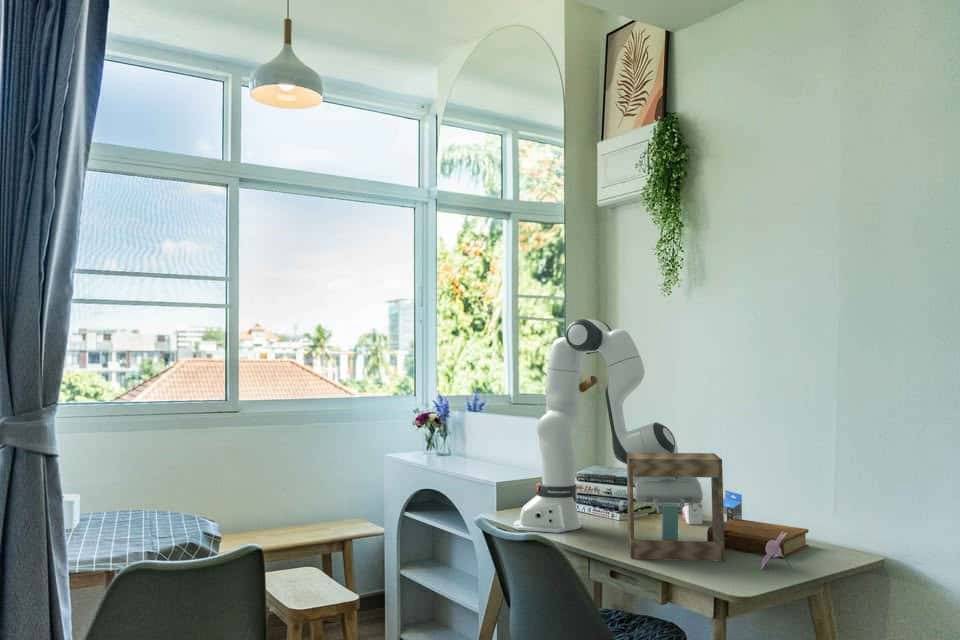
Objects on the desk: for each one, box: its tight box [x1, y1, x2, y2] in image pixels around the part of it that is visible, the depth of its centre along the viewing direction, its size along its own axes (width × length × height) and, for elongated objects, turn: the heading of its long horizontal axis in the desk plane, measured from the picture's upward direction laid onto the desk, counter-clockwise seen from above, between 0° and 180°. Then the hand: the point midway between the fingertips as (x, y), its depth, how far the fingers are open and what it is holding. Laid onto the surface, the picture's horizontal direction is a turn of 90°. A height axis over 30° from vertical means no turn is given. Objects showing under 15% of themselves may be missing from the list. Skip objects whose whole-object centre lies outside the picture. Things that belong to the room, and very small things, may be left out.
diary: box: [706, 518, 810, 560], centre depth 228 cm, size 23×19×6 cm
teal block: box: [661, 503, 679, 541], centre depth 230 cm, size 4×4×11 cm
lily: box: [760, 531, 792, 571], centre depth 206 cm, size 12×12×10 cm
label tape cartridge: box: [723, 490, 743, 522], centre depth 249 cm, size 9×4×12 cm, turn 18°
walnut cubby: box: [626, 452, 726, 562], centre depth 221 cm, size 26×14×28 cm, turn 82°
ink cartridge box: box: [682, 480, 703, 525], centre depth 262 cm, size 9×5×15 cm, turn 179°
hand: (670, 513), depth 230 cm, fingers closed on teal block, 4 cm apart
